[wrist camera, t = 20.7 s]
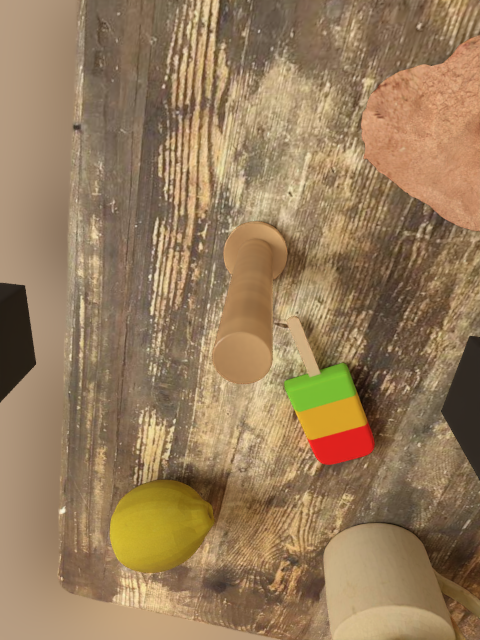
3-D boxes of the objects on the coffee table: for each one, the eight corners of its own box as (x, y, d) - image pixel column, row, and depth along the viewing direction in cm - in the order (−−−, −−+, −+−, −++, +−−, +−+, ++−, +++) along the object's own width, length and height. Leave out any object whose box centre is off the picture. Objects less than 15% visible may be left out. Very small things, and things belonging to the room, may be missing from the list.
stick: (251, 207, 31) (233, 285, 17) (300, 248, 32) (322, 355, 18) (211, 255, 33) (164, 363, 19) (259, 293, 34) (249, 422, 20)
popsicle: (318, 455, 41) (320, 470, 39) (259, 323, 35) (259, 334, 33) (375, 440, 39) (379, 454, 38) (324, 301, 34) (326, 311, 32)
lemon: (134, 522, 47) (109, 596, 39) (108, 469, 43) (76, 539, 36) (230, 511, 45) (222, 587, 38) (210, 455, 42) (197, 526, 34)
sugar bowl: (442, 496, 42) (524, 677, 28) (476, 564, 46) (562, 752, 32) (304, 539, 46) (318, 716, 32) (346, 598, 50) (374, 779, 36)
